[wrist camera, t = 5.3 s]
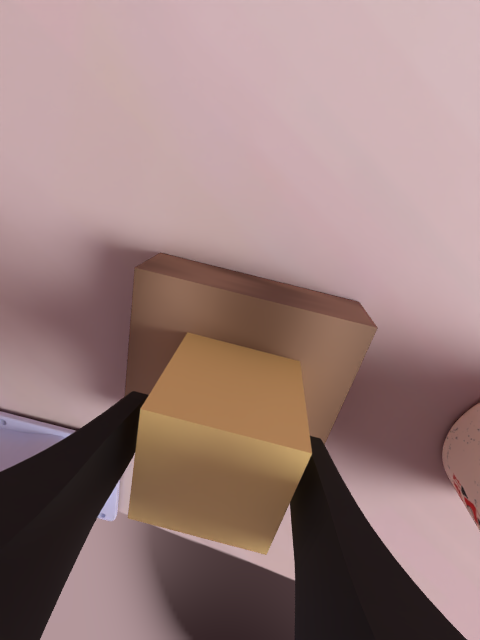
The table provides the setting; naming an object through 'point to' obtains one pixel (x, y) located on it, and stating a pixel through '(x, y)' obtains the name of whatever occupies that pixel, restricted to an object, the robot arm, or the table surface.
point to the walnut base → (247, 327)
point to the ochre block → (221, 444)
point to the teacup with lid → (465, 460)
